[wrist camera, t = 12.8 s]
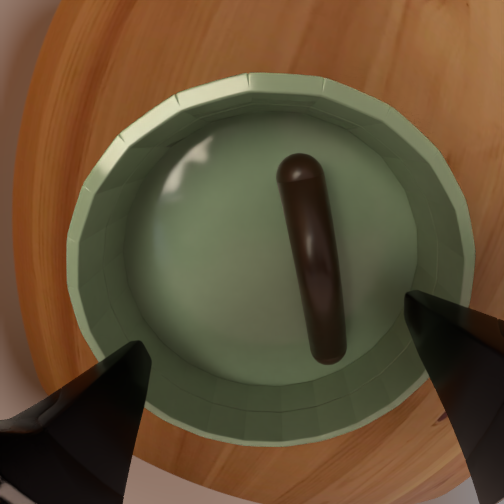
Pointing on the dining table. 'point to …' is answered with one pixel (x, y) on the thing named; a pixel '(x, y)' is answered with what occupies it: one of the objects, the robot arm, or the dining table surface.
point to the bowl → (264, 255)
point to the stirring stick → (314, 254)
